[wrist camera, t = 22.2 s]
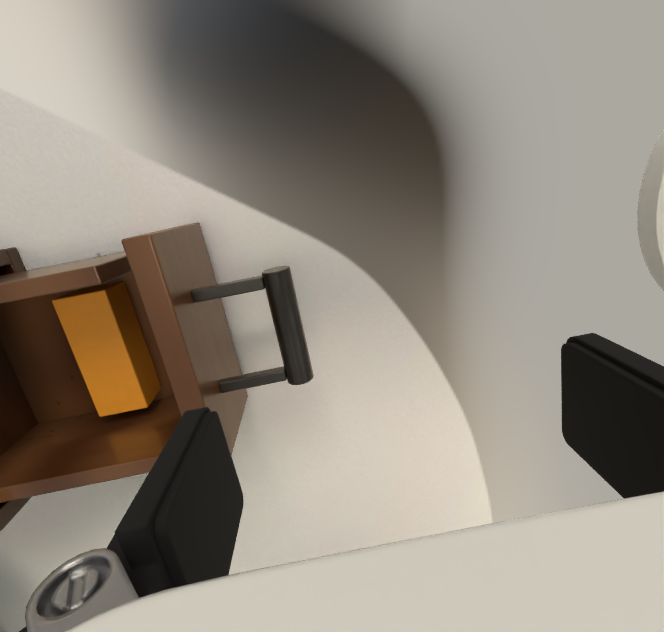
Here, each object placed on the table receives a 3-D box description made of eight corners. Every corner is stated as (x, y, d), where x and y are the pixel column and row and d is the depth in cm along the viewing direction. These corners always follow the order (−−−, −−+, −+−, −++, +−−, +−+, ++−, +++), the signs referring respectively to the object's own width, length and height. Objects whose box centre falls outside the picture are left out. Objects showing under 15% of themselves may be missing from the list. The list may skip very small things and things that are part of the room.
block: (76, 289, 23) (50, 300, 20) (124, 280, 23) (104, 289, 20) (117, 397, 25) (99, 417, 22) (162, 388, 25) (147, 408, 22)
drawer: (282, 206, 23) (272, 210, 16) (319, 381, 27) (326, 454, 19) (-32, 267, 23) (-196, 301, 15) (47, 436, 26) (-55, 532, 19)
